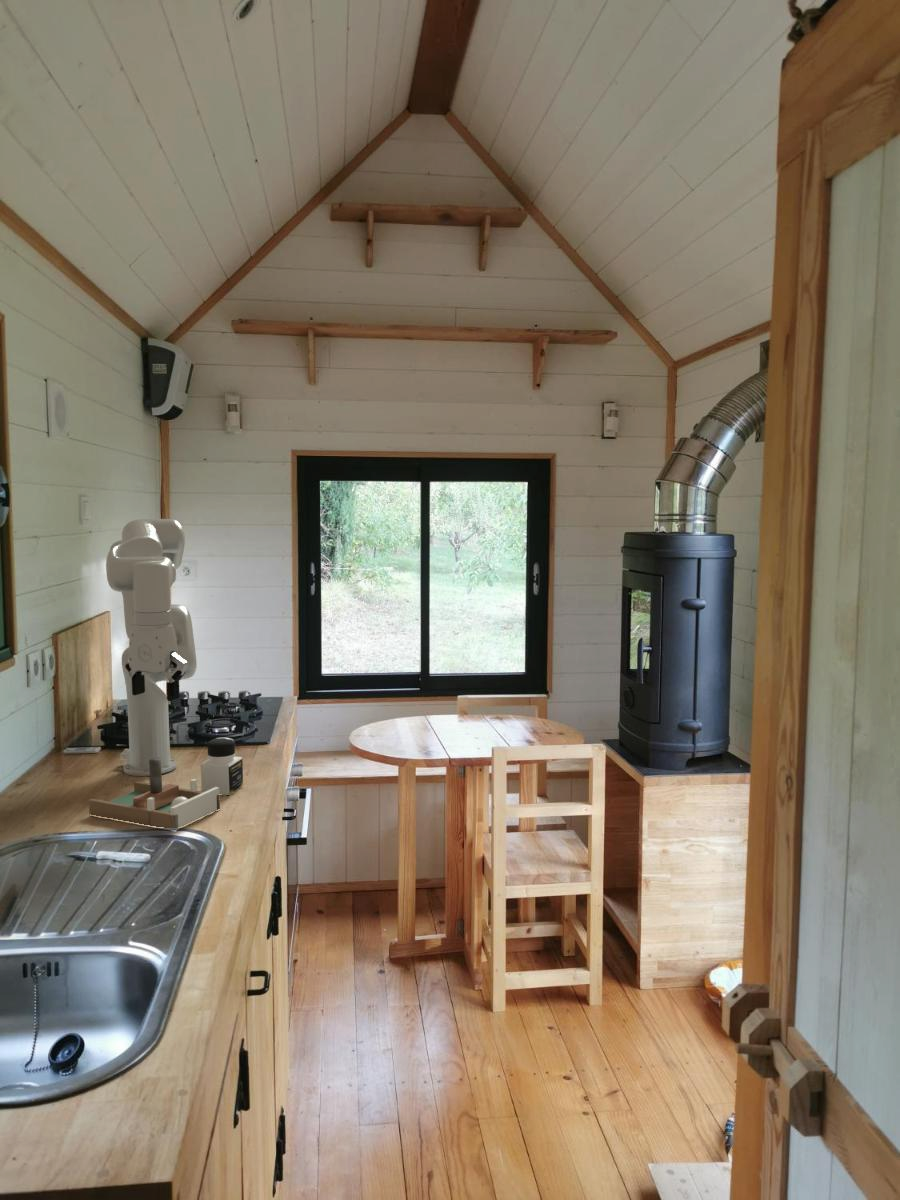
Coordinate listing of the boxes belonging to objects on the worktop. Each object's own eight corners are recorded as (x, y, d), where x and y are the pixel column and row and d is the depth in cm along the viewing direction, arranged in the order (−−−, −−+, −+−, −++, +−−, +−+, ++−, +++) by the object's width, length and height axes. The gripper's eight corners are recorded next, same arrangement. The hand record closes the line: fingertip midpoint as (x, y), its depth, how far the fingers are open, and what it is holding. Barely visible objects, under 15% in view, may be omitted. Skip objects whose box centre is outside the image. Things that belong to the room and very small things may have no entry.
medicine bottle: (230, 796, 197) (228, 744, 196) (201, 794, 198) (199, 742, 197) (243, 786, 204) (242, 736, 203) (215, 784, 205) (213, 734, 204)
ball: (183, 817, 180) (169, 819, 182) (196, 811, 184) (182, 813, 186) (179, 798, 180) (164, 800, 182) (192, 793, 184) (177, 795, 186)
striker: (133, 812, 182) (131, 765, 180) (168, 796, 191) (166, 752, 190) (144, 814, 180) (142, 767, 179) (179, 798, 190) (177, 754, 189)
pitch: (89, 816, 184) (88, 788, 184) (137, 796, 197) (136, 770, 196) (175, 832, 175) (174, 803, 174) (219, 810, 188) (219, 783, 187)
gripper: (109, 618, 186) (112, 695, 189) (172, 624, 179) (175, 705, 182) (135, 613, 193) (138, 688, 195) (196, 619, 186) (199, 697, 188)
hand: (155, 696), depth 189 cm, fingers open, 9 cm apart
